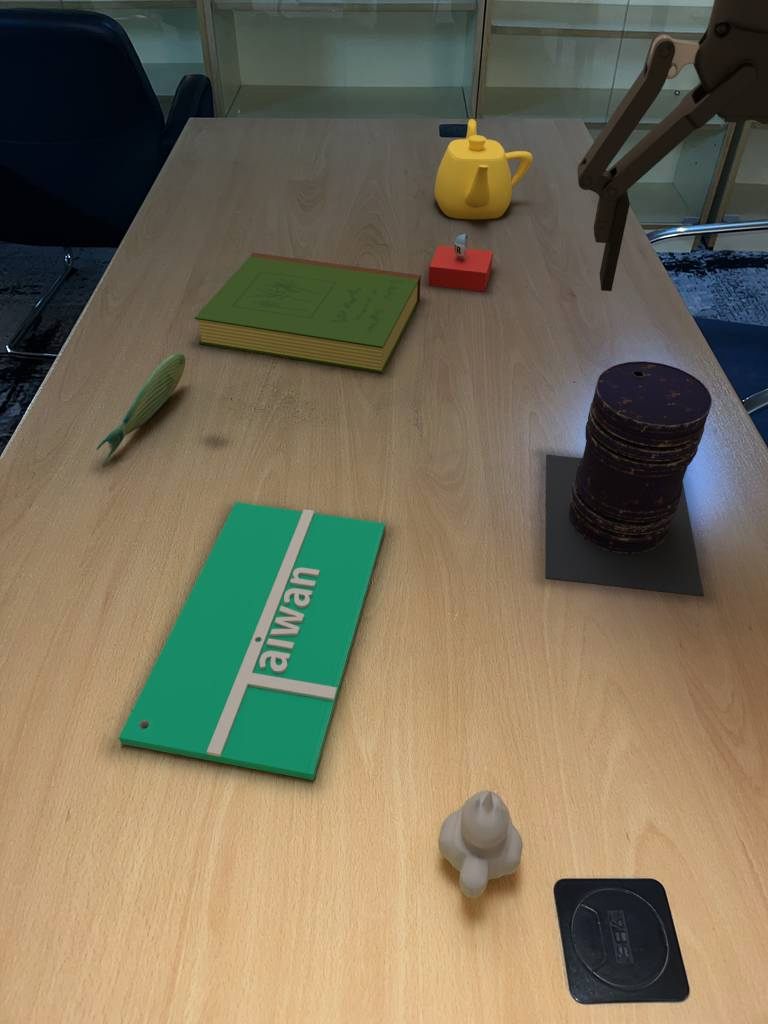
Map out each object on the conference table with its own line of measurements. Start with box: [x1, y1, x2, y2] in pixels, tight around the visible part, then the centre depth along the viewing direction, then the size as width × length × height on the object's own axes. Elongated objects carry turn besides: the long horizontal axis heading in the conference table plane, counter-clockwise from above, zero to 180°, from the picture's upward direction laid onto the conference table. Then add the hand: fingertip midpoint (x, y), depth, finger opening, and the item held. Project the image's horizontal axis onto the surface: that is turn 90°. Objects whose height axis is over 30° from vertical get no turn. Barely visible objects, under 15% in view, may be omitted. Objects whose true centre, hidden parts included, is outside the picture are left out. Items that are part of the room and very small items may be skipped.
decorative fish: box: [96, 352, 219, 467], centre depth 88 cm, size 7×18×10 cm
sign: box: [118, 501, 386, 781], centre depth 69 cm, size 27×1×15 cm
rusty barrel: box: [569, 360, 713, 554], centre depth 74 cm, size 10×10×15 cm
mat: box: [544, 454, 705, 597], centre depth 79 cm, size 18×14×1 cm
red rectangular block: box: [428, 233, 494, 292], centre depth 114 cm, size 8×7×6 cm
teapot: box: [433, 118, 534, 220], centre depth 131 cm, size 22×16×11 cm
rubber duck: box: [437, 789, 524, 899], centre depth 52 cm, size 5×7×8 cm
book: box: [194, 252, 422, 374], centre depth 105 cm, size 25×19×4 cm
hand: (697, 289), depth 60 cm, fingers open, 13 cm apart
